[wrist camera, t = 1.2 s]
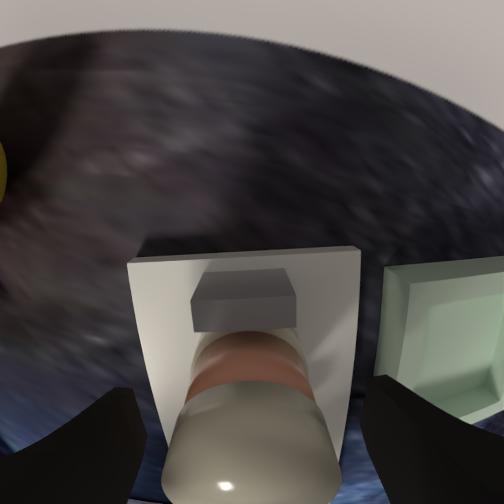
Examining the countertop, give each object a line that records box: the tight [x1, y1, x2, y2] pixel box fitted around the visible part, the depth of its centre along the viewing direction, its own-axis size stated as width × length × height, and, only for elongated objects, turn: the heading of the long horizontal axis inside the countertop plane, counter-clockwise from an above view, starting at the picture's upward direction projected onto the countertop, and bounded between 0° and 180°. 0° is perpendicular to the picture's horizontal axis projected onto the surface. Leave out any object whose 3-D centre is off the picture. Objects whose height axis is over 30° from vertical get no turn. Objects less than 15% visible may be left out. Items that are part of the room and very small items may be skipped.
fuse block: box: [127, 246, 361, 463], centre depth 13 cm, size 17×9×4 cm, turn 3°
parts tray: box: [373, 256, 504, 424], centre depth 13 cm, size 9×9×2 cm
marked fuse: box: [161, 328, 342, 504], centre depth 9 cm, size 4×4×7 cm
